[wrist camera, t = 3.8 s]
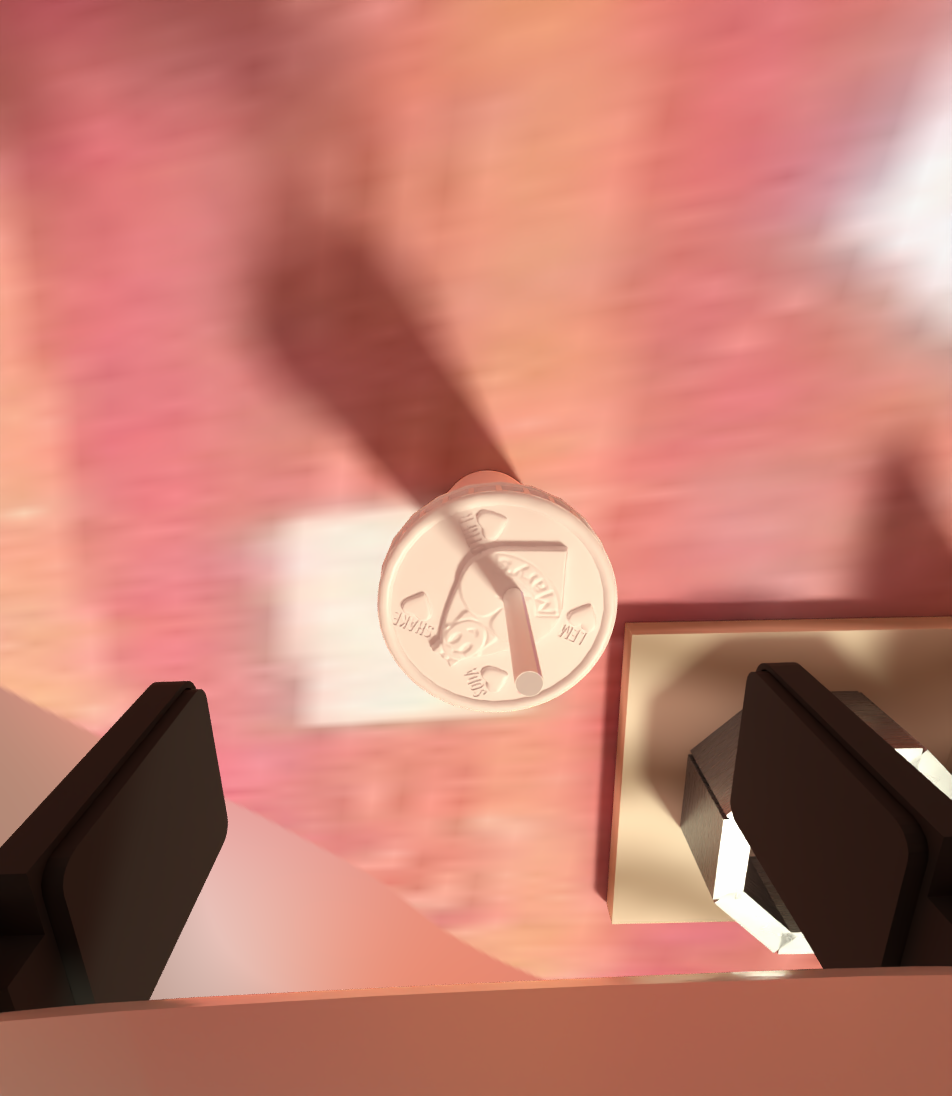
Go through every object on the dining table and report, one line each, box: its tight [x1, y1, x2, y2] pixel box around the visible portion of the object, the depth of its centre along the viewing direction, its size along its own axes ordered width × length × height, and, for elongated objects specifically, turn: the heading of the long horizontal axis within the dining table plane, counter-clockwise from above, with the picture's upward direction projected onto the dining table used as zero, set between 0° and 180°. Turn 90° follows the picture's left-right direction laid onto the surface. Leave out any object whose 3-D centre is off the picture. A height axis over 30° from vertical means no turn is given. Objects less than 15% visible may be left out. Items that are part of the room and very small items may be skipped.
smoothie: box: [377, 470, 618, 712], centre depth 18 cm, size 6×6×14 cm
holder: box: [607, 616, 952, 954], centre depth 24 cm, size 16×16×10 cm
